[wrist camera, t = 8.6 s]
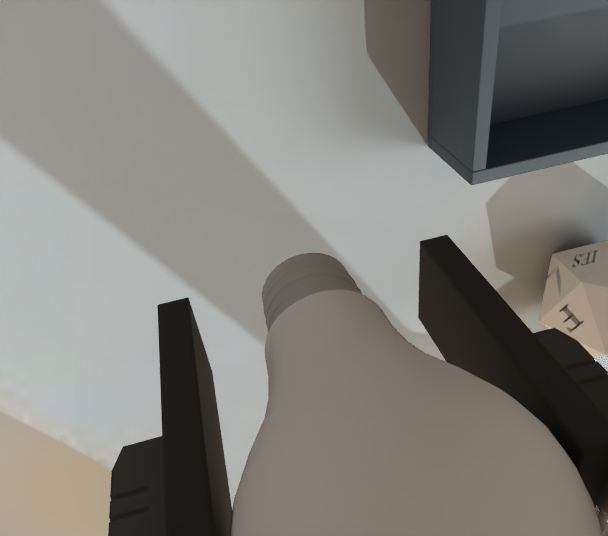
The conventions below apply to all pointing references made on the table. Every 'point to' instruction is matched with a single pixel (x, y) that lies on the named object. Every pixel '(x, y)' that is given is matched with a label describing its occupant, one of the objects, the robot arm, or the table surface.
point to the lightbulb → (389, 431)
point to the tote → (517, 84)
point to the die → (579, 296)
